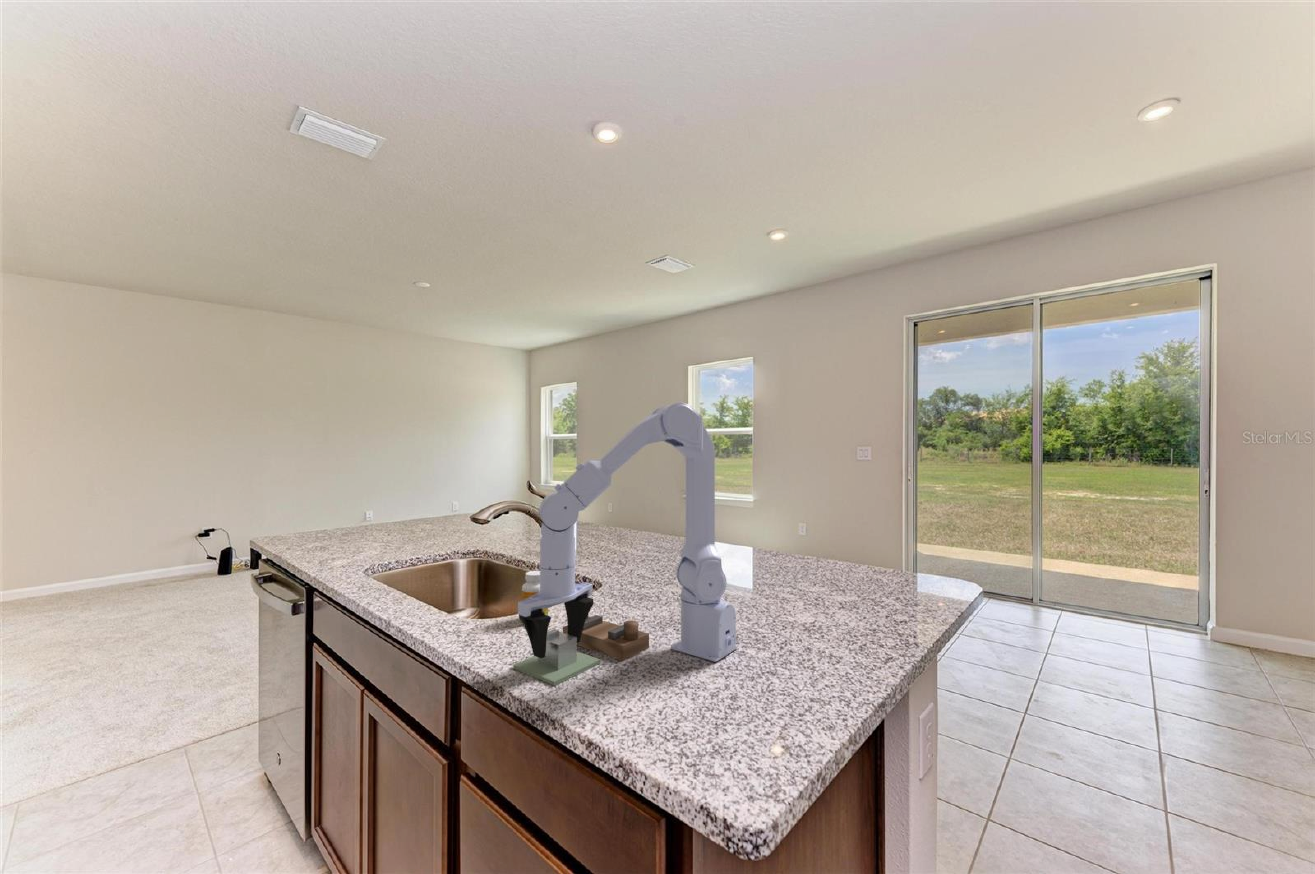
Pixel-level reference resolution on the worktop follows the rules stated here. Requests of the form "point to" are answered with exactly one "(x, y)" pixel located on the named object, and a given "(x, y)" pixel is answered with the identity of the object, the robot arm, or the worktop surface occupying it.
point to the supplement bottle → (532, 586)
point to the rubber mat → (553, 675)
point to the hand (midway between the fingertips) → (557, 648)
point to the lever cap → (559, 650)
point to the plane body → (612, 638)
